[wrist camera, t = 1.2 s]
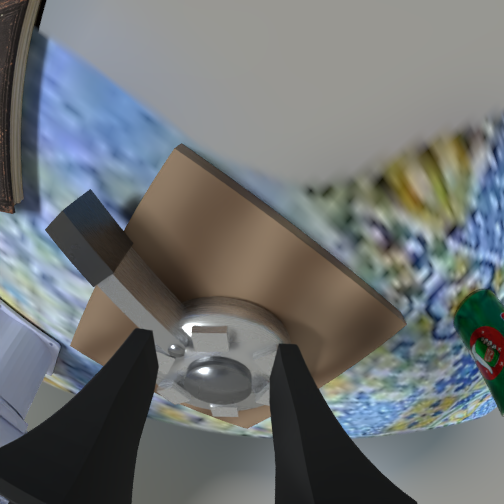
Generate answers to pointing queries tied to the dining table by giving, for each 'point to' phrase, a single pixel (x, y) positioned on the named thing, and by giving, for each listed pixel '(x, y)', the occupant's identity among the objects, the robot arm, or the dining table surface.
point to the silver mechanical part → (176, 317)
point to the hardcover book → (14, 91)
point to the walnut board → (242, 273)
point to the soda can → (484, 338)
